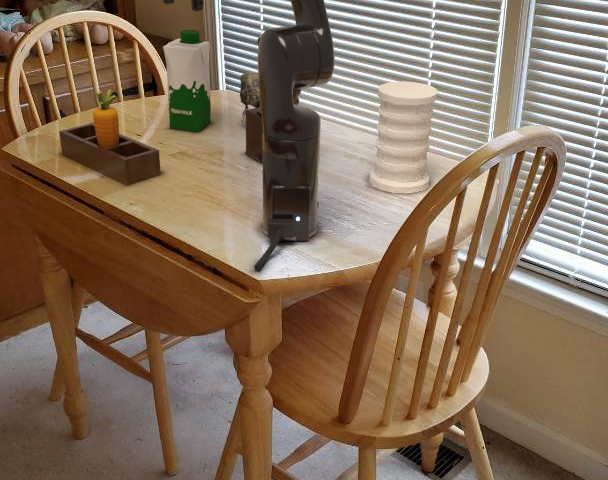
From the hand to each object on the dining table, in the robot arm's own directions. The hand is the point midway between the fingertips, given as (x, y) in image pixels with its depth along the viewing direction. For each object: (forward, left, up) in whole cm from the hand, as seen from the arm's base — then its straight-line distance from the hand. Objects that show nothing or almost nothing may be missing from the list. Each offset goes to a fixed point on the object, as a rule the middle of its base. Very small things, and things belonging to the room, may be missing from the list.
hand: (183, 6), depth 156 cm
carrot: (-11, +15, -28) cm, 34 cm away
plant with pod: (+15, -15, -28) cm, 35 cm away
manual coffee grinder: (-7, -20, -28) cm, 35 cm away
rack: (-11, +15, -28) cm, 34 cm away
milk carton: (+14, +1, -28) cm, 32 cm away
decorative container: (-18, -42, -28) cm, 54 cm away
